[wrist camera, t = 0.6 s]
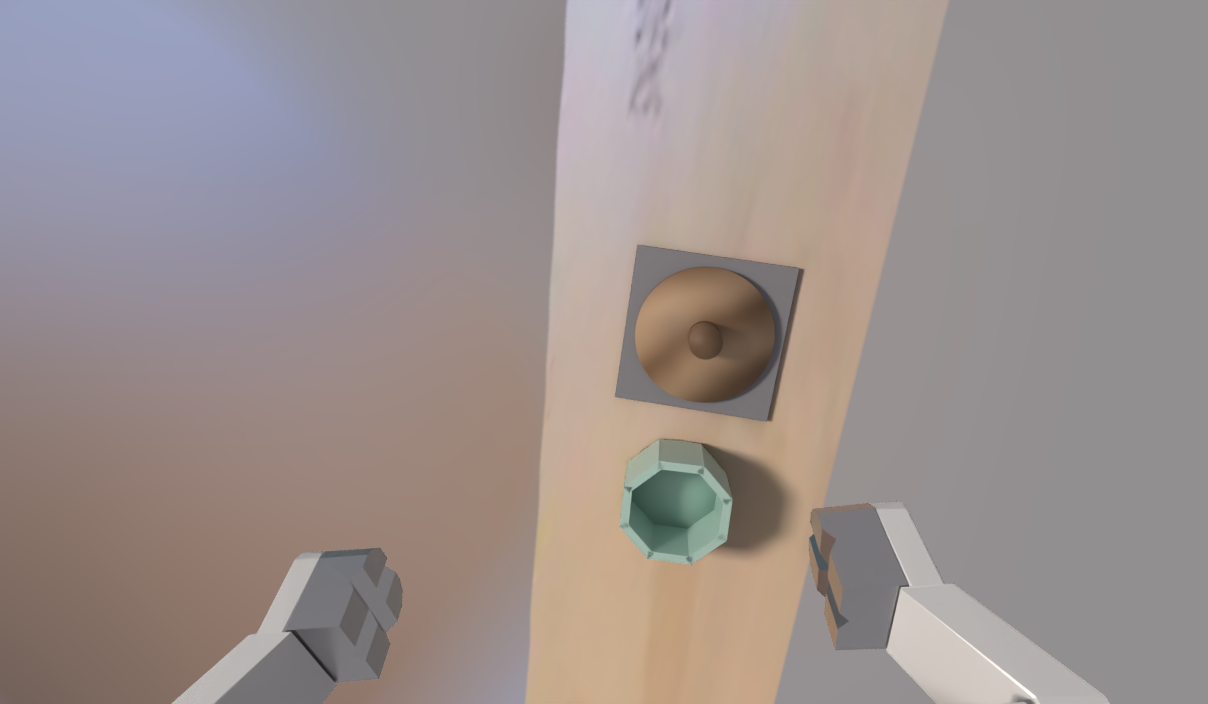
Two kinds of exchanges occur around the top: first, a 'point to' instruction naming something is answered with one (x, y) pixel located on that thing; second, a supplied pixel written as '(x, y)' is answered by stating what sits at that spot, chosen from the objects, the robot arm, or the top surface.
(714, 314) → the walnut lid
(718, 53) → the top surface
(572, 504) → the top surface
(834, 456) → the top surface
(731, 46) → the top surface
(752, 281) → the rubber mat
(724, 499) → the ceramic bowl
